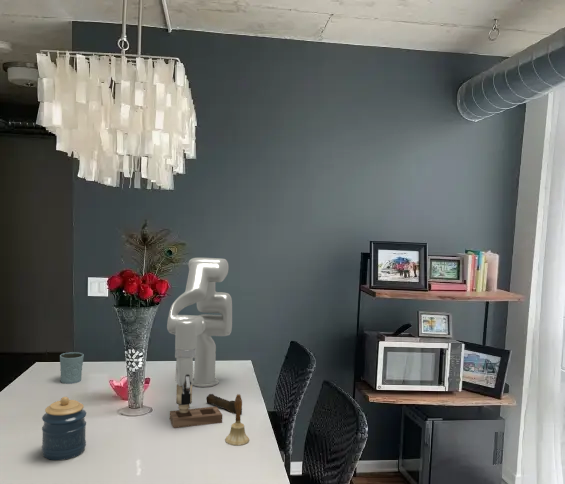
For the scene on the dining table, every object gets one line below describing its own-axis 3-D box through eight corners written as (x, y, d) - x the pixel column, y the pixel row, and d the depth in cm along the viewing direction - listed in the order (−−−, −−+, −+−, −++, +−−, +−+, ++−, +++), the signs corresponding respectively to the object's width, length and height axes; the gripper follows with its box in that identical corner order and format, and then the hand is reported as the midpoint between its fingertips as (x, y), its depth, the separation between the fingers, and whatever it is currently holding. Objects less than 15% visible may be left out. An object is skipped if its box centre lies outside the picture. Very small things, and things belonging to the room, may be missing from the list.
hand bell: (253, 442, 176) (254, 396, 175) (231, 447, 172) (232, 400, 171) (243, 433, 183) (244, 389, 182) (221, 438, 179) (222, 392, 178)
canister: (63, 440, 173) (64, 388, 173) (94, 447, 169) (95, 393, 168) (32, 456, 161) (32, 400, 160) (64, 464, 156) (65, 406, 156)
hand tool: (205, 404, 212) (205, 393, 211) (213, 402, 214) (213, 391, 214) (236, 417, 199) (236, 405, 198) (243, 415, 201) (244, 403, 201)
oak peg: (174, 409, 193) (175, 383, 193) (189, 408, 195) (190, 382, 195) (177, 415, 188) (178, 388, 187) (192, 413, 190) (193, 386, 189)
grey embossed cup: (65, 377, 240) (66, 351, 240) (87, 378, 240) (87, 352, 239) (55, 383, 230) (55, 357, 230) (77, 384, 230) (78, 358, 229)
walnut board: (169, 419, 194) (169, 411, 194) (216, 413, 201) (216, 406, 201) (173, 428, 186) (173, 419, 186) (222, 422, 192) (222, 414, 192)
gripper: (171, 348, 197) (170, 394, 198) (179, 359, 181) (177, 410, 182) (190, 346, 200) (189, 393, 201) (200, 358, 184) (199, 408, 185)
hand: (184, 400), depth 191 cm, fingers closed on oak peg, 5 cm apart
